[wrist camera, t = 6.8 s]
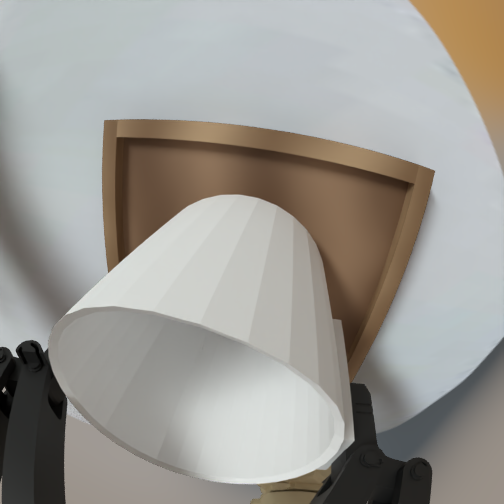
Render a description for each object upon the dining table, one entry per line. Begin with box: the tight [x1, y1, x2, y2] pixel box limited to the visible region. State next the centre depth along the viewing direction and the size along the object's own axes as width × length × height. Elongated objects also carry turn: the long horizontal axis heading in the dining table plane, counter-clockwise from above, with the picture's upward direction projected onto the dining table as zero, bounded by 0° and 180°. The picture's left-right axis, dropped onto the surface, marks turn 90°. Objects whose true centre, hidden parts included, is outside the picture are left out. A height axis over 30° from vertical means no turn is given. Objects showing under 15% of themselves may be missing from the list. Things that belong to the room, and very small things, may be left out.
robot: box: [250, 466, 331, 504], centre depth 17 cm, size 10×8×15 cm
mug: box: [48, 195, 345, 484], centre depth 11 cm, size 12×9×9 cm
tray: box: [102, 119, 435, 383], centre depth 17 cm, size 18×18×2 cm
